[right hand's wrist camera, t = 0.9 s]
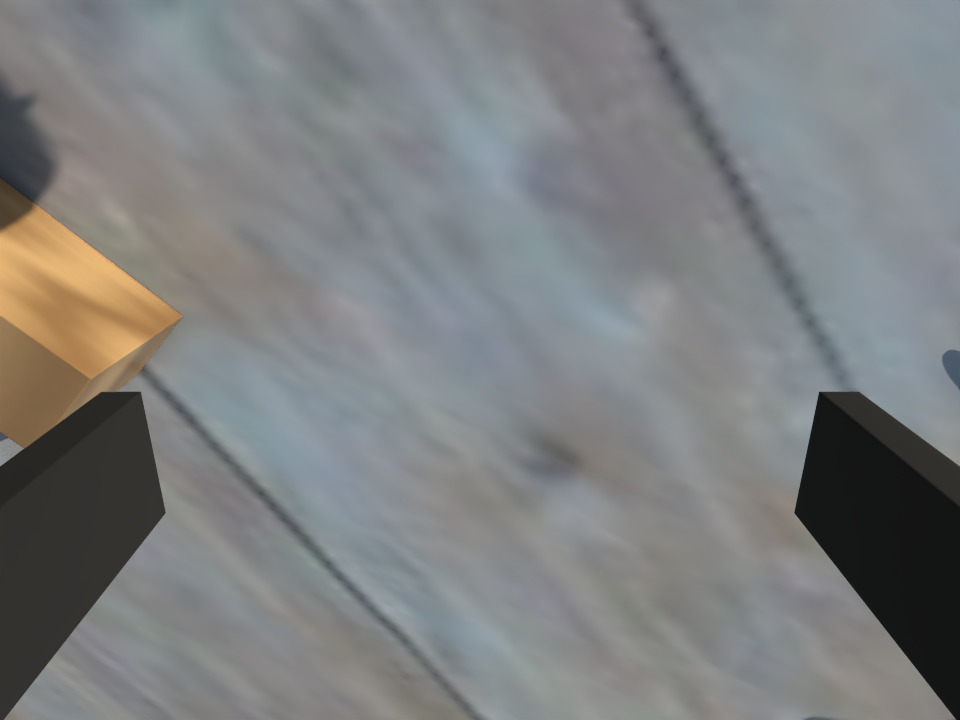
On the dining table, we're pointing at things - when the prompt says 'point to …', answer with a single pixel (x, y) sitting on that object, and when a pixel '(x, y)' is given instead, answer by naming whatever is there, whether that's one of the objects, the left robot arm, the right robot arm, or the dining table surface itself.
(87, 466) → the right robot arm
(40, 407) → the bar
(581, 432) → the dining table surface
